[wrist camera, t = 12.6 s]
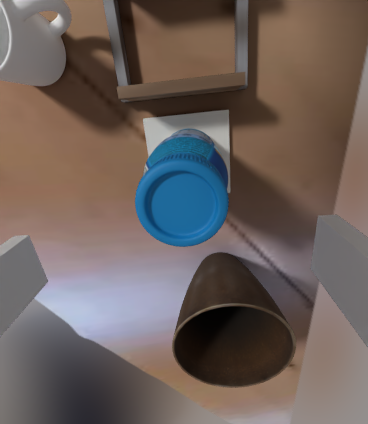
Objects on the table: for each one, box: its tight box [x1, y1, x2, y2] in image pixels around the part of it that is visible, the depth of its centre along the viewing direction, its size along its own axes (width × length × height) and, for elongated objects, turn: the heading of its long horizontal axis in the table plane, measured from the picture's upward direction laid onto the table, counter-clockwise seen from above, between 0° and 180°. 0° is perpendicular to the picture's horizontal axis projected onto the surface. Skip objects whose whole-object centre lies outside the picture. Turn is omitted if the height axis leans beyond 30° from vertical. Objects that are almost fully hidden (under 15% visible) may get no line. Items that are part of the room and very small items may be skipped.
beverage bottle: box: [135, 128, 229, 247], centre depth 25 cm, size 8×8×20 cm
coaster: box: [143, 110, 230, 193], centre depth 35 cm, size 12×12×1 cm
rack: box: [103, 0, 248, 103], centre depth 26 cm, size 13×16×7 cm
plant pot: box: [172, 252, 296, 388], centre depth 36 cm, size 15×15×16 cm
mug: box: [0, 0, 71, 86], centre depth 26 cm, size 12×8×10 cm
